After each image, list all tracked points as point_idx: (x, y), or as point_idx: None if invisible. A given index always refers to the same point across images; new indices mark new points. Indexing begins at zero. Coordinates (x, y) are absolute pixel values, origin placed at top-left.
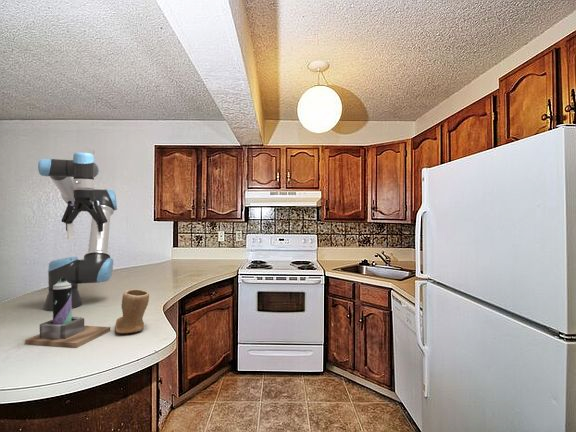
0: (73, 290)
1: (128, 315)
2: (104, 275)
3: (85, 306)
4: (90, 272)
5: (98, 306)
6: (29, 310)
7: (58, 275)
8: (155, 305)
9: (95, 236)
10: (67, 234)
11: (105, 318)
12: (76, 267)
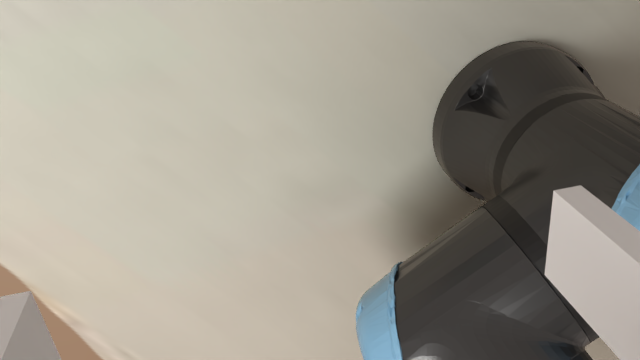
0: (489, 166)
1: None
2: (363, 300)
3: (404, 158)
4: (437, 266)
5: (340, 179)
6: (620, 17)
7: (597, 146)
8: (71, 286)
9: (10, 335)
10: (628, 227)
11: (108, 35)
12: (536, 244)
